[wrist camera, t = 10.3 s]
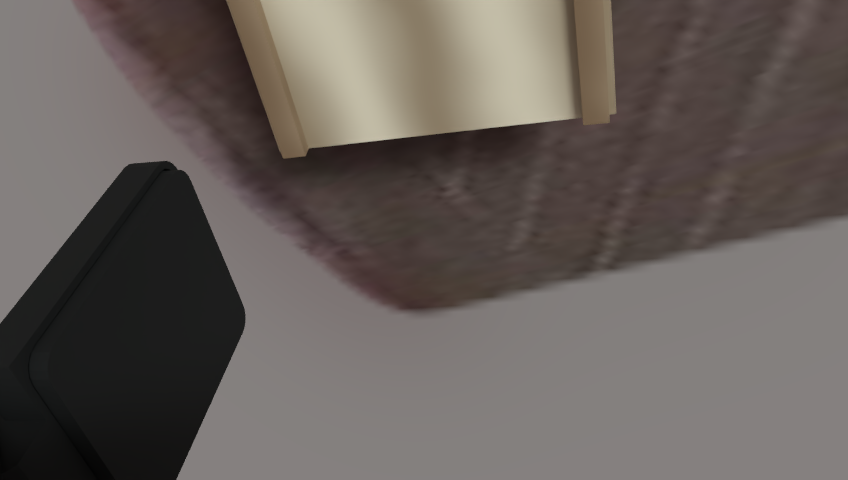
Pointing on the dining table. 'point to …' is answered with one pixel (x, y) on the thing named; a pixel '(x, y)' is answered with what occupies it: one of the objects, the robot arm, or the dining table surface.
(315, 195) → the dining table surface
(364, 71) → the beam
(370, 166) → the dining table surface
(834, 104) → the dining table surface
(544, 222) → the dining table surface
